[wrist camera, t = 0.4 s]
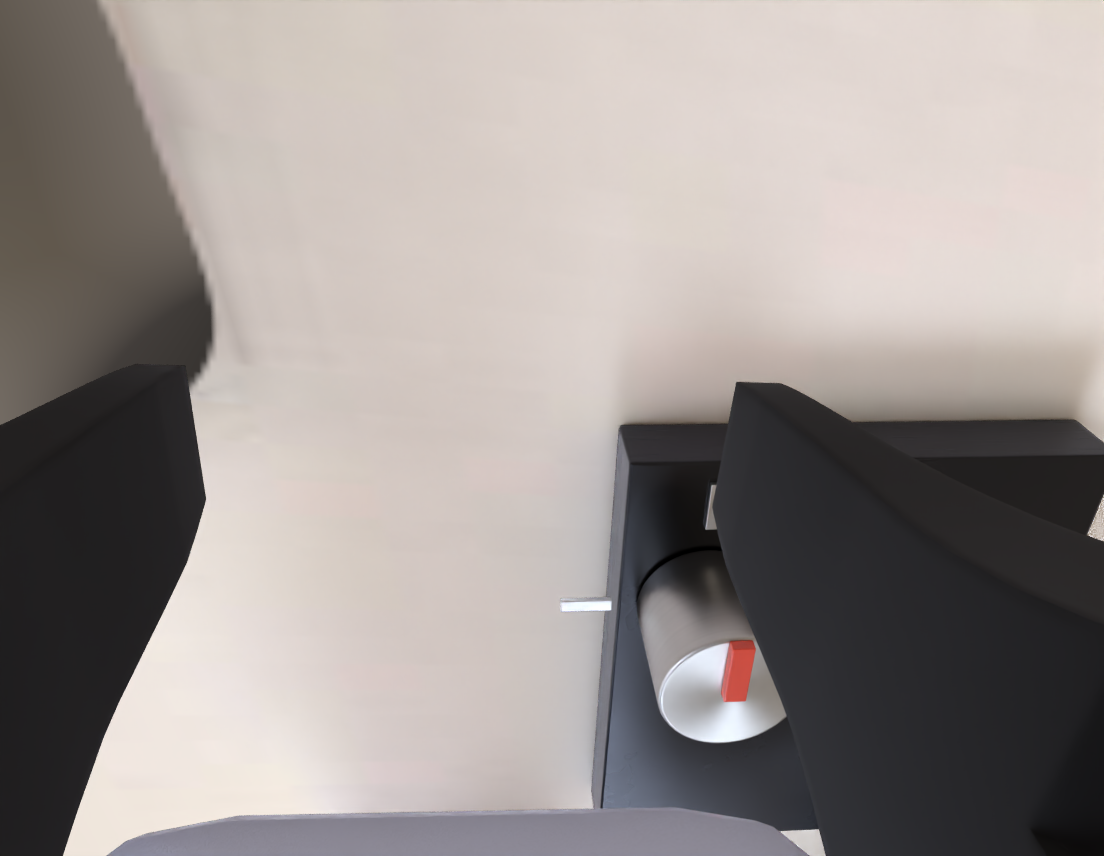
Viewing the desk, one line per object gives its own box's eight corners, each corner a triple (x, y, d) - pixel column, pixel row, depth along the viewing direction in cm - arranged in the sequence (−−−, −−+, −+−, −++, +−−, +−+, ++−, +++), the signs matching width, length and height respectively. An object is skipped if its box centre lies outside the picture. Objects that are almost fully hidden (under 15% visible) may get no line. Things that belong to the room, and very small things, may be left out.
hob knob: (754, 646, 25) (795, 751, 22) (631, 650, 25) (654, 757, 21) (773, 547, 23) (821, 645, 20) (641, 550, 23) (668, 650, 20)
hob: (942, 774, 32) (971, 827, 30) (546, 792, 31) (550, 848, 29) (1076, 418, 24) (1125, 458, 22) (559, 424, 23) (566, 467, 21)
